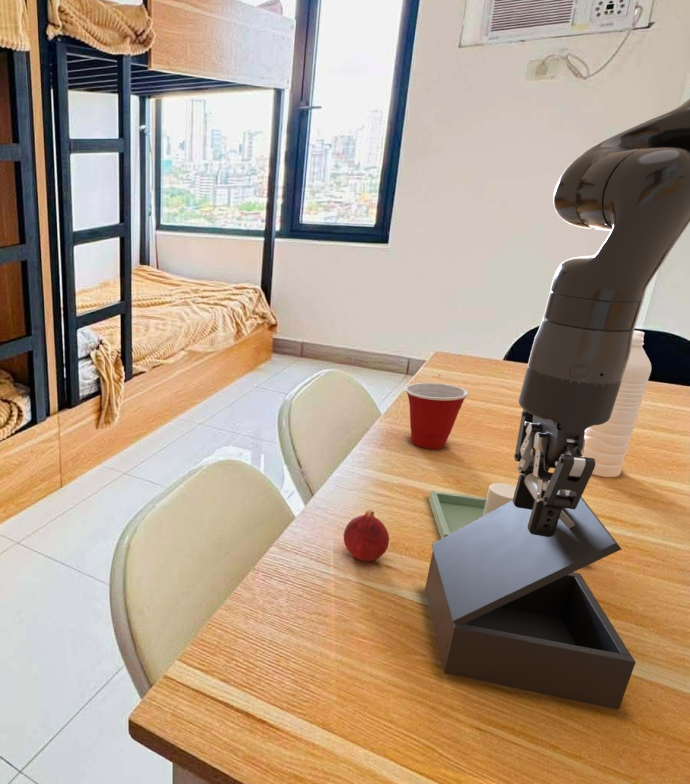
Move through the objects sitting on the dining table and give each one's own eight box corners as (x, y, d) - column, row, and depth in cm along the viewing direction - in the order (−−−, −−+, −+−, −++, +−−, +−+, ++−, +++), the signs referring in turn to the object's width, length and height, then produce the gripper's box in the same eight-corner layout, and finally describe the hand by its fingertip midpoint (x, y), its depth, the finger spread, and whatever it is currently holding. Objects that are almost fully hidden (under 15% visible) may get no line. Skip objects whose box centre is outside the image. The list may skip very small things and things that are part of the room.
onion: (389, 575, 85) (398, 524, 82) (344, 571, 86) (352, 520, 83) (379, 551, 90) (387, 502, 87) (337, 547, 91) (344, 498, 88)
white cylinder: (512, 523, 96) (522, 485, 94) (521, 540, 91) (531, 500, 89) (477, 518, 97) (485, 480, 95) (484, 534, 93) (493, 495, 91)
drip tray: (552, 518, 98) (555, 507, 97) (584, 569, 86) (588, 555, 85) (428, 501, 103) (430, 490, 102) (442, 546, 91) (444, 534, 90)
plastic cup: (416, 430, 131) (425, 375, 127) (468, 448, 122) (480, 390, 118) (384, 442, 125) (393, 385, 121) (436, 462, 117) (448, 402, 113)
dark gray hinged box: (566, 620, 76) (580, 573, 74) (616, 716, 63) (636, 662, 61) (423, 595, 81) (432, 549, 79) (442, 679, 68) (454, 627, 65)
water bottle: (618, 482, 109) (661, 344, 100) (573, 472, 113) (610, 337, 104) (620, 465, 115) (659, 333, 107) (576, 455, 119) (611, 327, 110)
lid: (566, 477, 71) (535, 443, 71) (622, 549, 58) (584, 507, 58) (435, 549, 78) (407, 518, 78) (457, 626, 65) (423, 590, 65)
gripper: (656, 397, 53) (599, 565, 59) (591, 352, 66) (550, 494, 72) (553, 386, 55) (509, 550, 61) (510, 345, 68) (477, 483, 74)
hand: (531, 519), depth 66 cm, fingers closed on lid, 5 cm apart
